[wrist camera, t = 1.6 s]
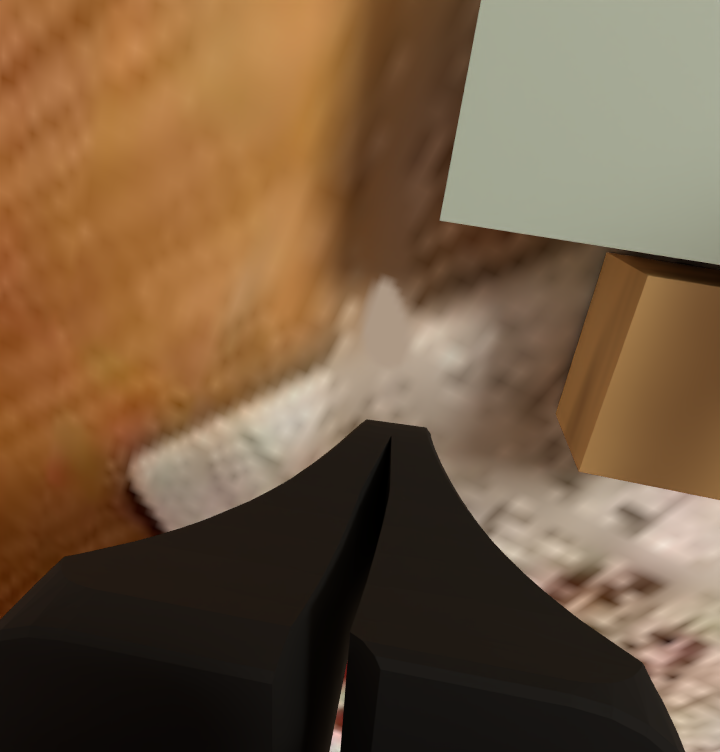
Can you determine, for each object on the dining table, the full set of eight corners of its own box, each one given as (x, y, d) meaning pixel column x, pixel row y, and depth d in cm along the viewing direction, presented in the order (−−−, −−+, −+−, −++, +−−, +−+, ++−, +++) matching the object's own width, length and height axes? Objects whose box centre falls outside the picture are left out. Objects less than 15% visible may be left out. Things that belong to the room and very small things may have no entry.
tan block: (768, 278, 17) (856, 309, 13) (695, 440, 19) (752, 506, 15) (607, 252, 17) (647, 276, 13) (555, 413, 19) (578, 471, 16)
